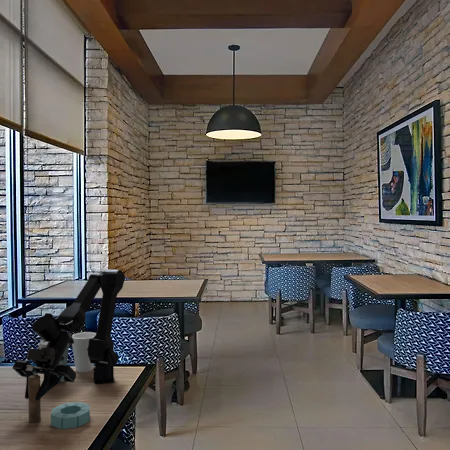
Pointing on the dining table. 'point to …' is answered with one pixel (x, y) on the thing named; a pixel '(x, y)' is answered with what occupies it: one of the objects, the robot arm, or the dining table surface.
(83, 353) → the foam cup
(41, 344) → the disposable coffee cup
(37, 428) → the dining table surface
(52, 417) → the bead
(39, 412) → the brown post
